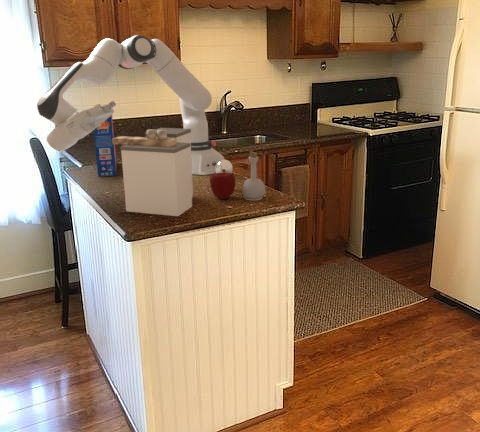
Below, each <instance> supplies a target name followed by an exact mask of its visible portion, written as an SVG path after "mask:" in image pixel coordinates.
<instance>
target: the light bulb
mask: <svg viewBox="0 0 480 432" xmlns="http://www.w3.org/2000/svg"><path fill="white" fill-rule="evenodd" d="M233 169H234V168H233V164H232V163H231V161H229V160H228V159H225V160H220V161H219V162H218V163H217V164H216V167H215V170H216V173H223V172H227V173H231V174H233ZM216 173H215V174H216Z"/></svg>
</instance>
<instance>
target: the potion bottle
mask: <svg viewBox="0 0 480 432" xmlns="http://www.w3.org/2000/svg"><path fill="white" fill-rule="evenodd" d="M248 161H249V164H250V178H248V179H245V181H244V183H243V185H242V188H241V192H242V196H243V197H244V200H247V201H249V202H250V201H251V202H252V201H253V202H255V201H256V202H257V201H261V200H263V199H264V198H263V197H264V196H265V194H266V190H267V189H266V186H265V183H264V182H263V180H262V179H261V178H257V163H258V161H259V156H258V153H257V152H255V151H252V150H250V151H249V156H248Z"/></svg>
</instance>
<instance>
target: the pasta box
mask: <svg viewBox="0 0 480 432" xmlns="http://www.w3.org/2000/svg"><path fill="white" fill-rule="evenodd" d="M114 133H115V132H114V119H113V114H112V115H111V116H110V117H109V118H108V119H107V120H105V121H104V122H103V123H101V126H100V127H98V128H97V129H95V130H93V138H94V147H95V148H94V149H95V157H96V158H95V159H96V166H97V169H96V170H97V177H111V176H112V177H114V176H117V154H116V144H113V143H112V138H115V134H114Z"/></svg>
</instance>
